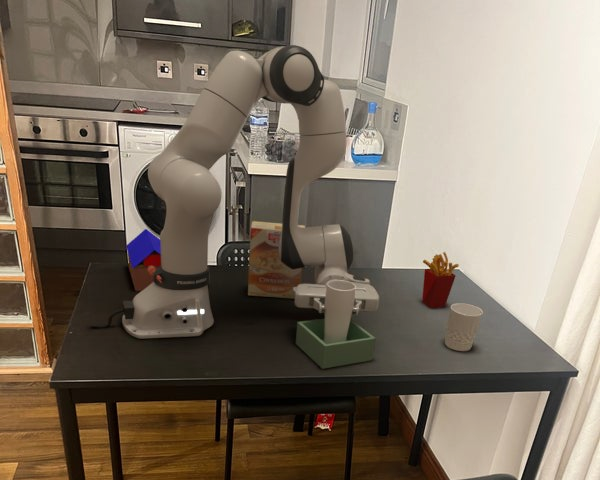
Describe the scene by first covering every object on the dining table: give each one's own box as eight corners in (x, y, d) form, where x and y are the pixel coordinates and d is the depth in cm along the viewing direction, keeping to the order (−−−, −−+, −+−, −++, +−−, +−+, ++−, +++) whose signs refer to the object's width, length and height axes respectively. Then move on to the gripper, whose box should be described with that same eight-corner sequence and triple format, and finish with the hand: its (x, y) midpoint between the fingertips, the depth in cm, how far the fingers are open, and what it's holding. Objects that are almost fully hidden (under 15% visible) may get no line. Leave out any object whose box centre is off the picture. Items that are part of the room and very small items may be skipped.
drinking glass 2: (348, 339, 146) (356, 281, 138) (348, 352, 140) (356, 291, 133) (321, 336, 146) (327, 278, 139) (319, 349, 141) (325, 288, 133)
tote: (322, 369, 136) (325, 346, 133) (295, 343, 146) (297, 321, 143) (372, 360, 142) (375, 338, 139) (343, 336, 152) (345, 315, 149)
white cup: (440, 337, 157) (448, 301, 151) (469, 340, 157) (478, 304, 152) (445, 351, 150) (454, 314, 145) (476, 353, 150) (486, 317, 145)
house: (167, 266, 186) (166, 228, 180) (177, 289, 170) (177, 249, 164) (127, 267, 182) (124, 228, 176) (134, 291, 166) (131, 250, 160)
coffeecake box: (247, 295, 170) (250, 227, 160) (248, 286, 176) (251, 220, 166) (299, 299, 171) (305, 231, 161) (299, 290, 177) (305, 224, 167)
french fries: (449, 307, 175) (460, 257, 168) (425, 310, 172) (436, 259, 165) (432, 296, 182) (442, 248, 174) (409, 298, 179) (419, 249, 171)
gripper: (293, 274, 147) (295, 295, 136) (375, 279, 149) (384, 300, 137) (291, 298, 151) (293, 321, 139) (371, 303, 152) (380, 326, 140)
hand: (339, 311), depth 138 cm, fingers closed on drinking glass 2, 6 cm apart
